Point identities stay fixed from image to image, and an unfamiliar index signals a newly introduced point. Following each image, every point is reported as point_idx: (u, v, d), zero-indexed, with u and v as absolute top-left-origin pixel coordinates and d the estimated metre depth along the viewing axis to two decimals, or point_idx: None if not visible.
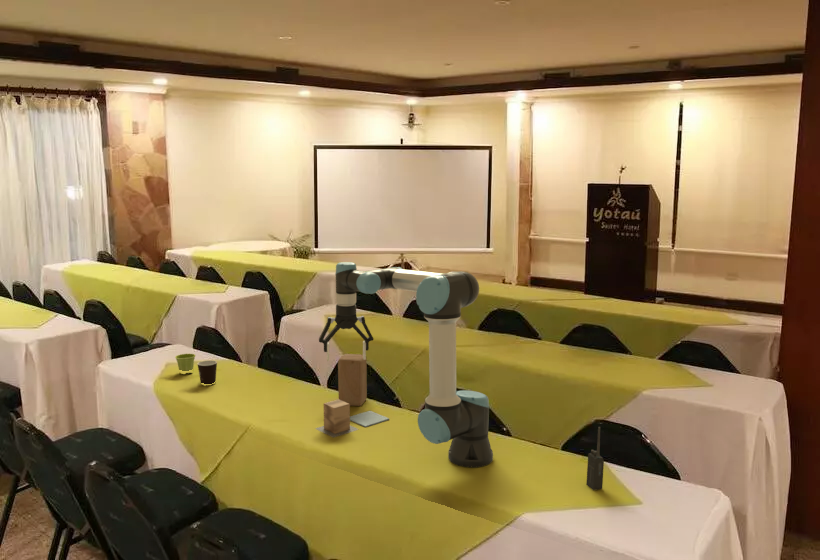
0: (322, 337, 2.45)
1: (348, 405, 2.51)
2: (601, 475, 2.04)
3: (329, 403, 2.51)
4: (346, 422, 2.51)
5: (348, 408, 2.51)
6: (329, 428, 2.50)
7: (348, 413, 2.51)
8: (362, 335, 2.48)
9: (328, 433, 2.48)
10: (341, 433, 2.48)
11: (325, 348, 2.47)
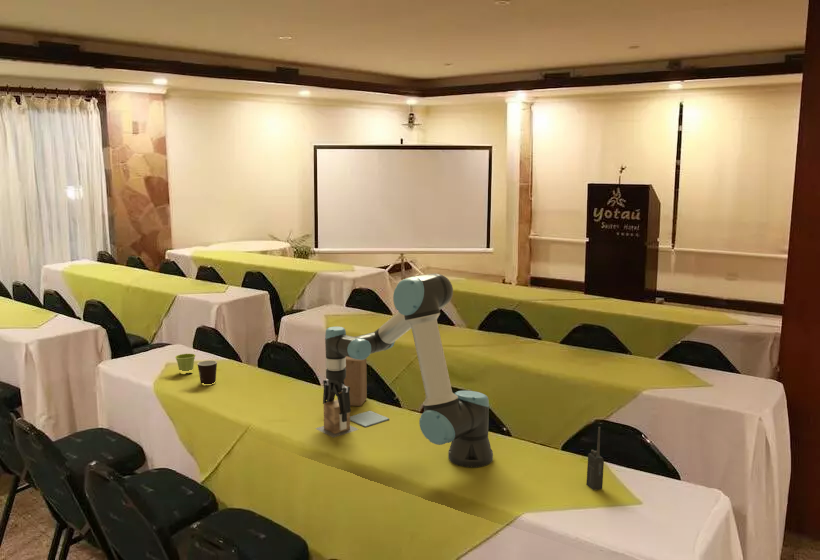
0: (324, 399, 2.55)
1: None
2: (601, 475, 2.04)
3: (329, 403, 2.51)
4: (346, 422, 2.51)
5: None
6: (329, 428, 2.50)
7: (348, 413, 2.51)
8: (340, 405, 2.47)
9: (328, 433, 2.48)
10: (341, 433, 2.48)
11: None
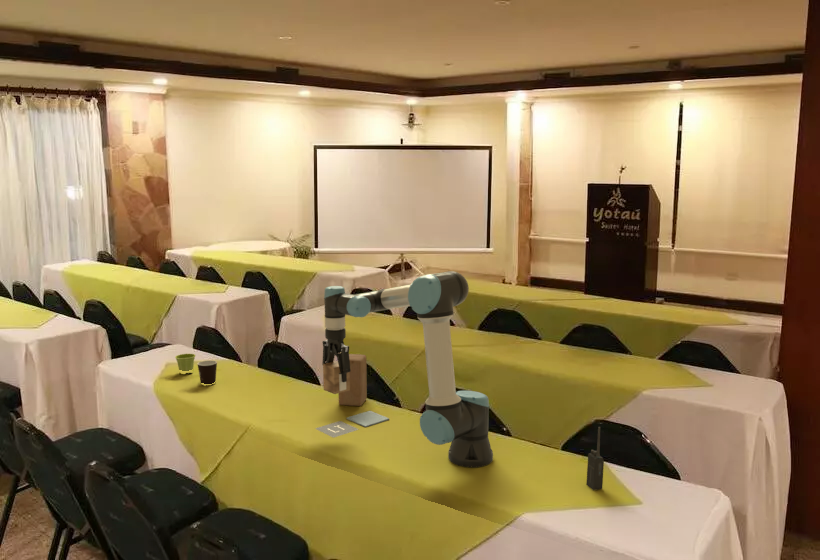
0: (323, 360, 2.53)
1: None
2: (601, 475, 2.04)
3: (329, 364, 2.49)
4: (346, 382, 2.49)
5: None
6: (329, 388, 2.47)
7: (348, 374, 2.49)
8: (339, 364, 2.45)
9: (328, 433, 2.48)
10: (341, 433, 2.48)
11: None
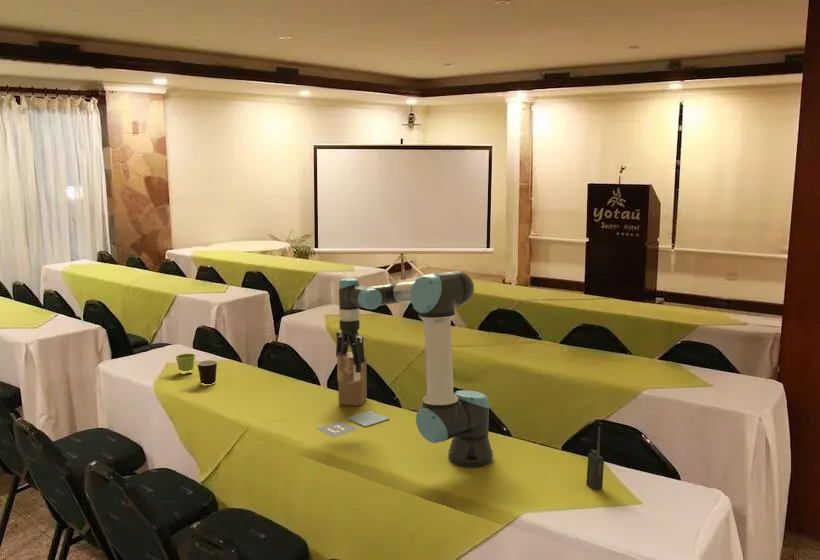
0: (337, 352, 2.56)
1: None
2: (601, 475, 2.04)
3: (342, 355, 2.53)
4: (360, 373, 2.53)
5: None
6: (343, 379, 2.51)
7: (361, 364, 2.53)
8: (354, 355, 2.49)
9: (328, 433, 2.48)
10: (341, 433, 2.48)
11: None
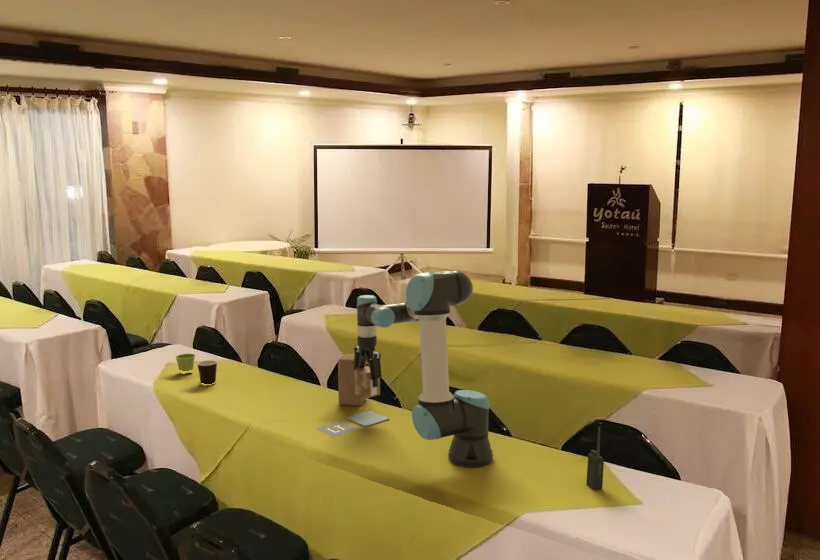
0: (354, 366, 2.63)
1: None
2: (601, 475, 2.04)
3: (360, 369, 2.60)
4: (377, 387, 2.60)
5: None
6: (360, 393, 2.58)
7: (378, 379, 2.60)
8: (371, 370, 2.56)
9: (328, 433, 2.48)
10: (341, 433, 2.48)
11: None
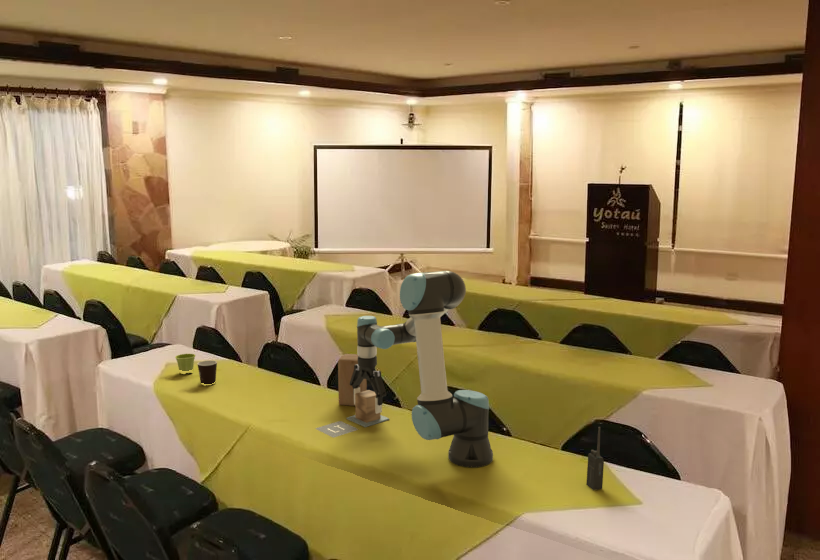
0: (351, 381, 2.66)
1: None
2: (601, 475, 2.04)
3: (361, 393, 2.61)
4: None
5: None
6: (361, 417, 2.60)
7: None
8: (374, 389, 2.55)
9: (328, 433, 2.48)
10: (341, 433, 2.48)
11: (354, 392, 2.66)
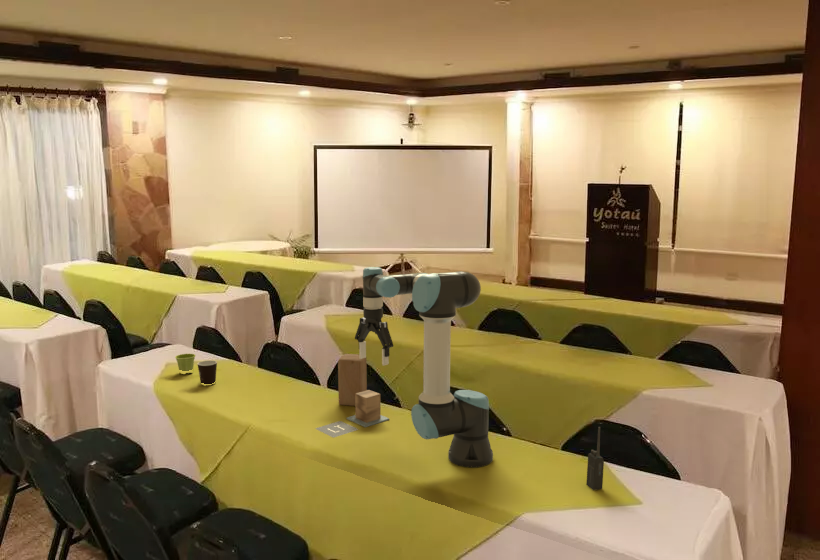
0: (356, 335, 2.63)
1: (379, 395, 2.60)
2: (601, 475, 2.04)
3: (361, 393, 2.61)
4: (377, 411, 2.61)
5: (379, 398, 2.61)
6: (361, 417, 2.60)
7: (379, 403, 2.61)
8: (381, 340, 2.52)
9: (328, 433, 2.48)
10: (341, 433, 2.48)
11: None
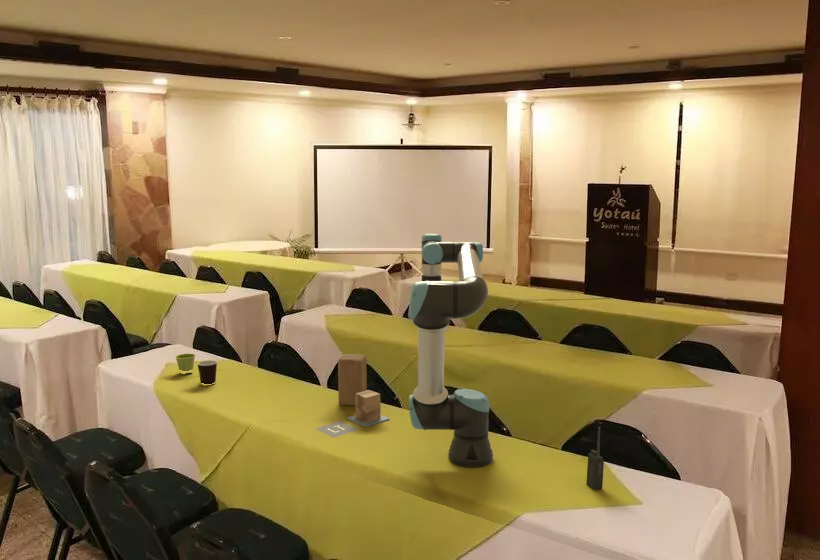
0: None
1: (379, 395, 2.60)
2: (601, 475, 2.04)
3: (361, 393, 2.61)
4: (377, 411, 2.61)
5: (379, 398, 2.61)
6: (361, 417, 2.60)
7: (379, 403, 2.61)
8: None
9: (328, 433, 2.48)
10: (341, 433, 2.48)
11: None
